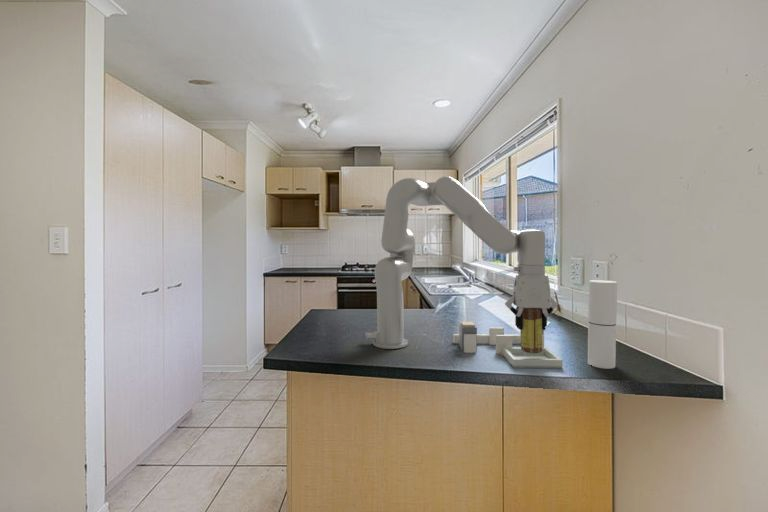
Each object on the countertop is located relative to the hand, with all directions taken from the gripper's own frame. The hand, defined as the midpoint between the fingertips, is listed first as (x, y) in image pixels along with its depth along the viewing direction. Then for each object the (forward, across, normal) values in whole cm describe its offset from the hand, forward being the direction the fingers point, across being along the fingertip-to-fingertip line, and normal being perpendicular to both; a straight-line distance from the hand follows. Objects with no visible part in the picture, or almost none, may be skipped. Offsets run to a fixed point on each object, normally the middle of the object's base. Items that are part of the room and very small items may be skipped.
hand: (530, 328), depth 112 cm
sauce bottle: (+7, 0, 0) cm, 7 cm away
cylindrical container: (+11, +20, -2) cm, 23 cm away
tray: (+10, 0, 0) cm, 10 cm away
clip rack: (+10, -6, +13) cm, 18 cm away
